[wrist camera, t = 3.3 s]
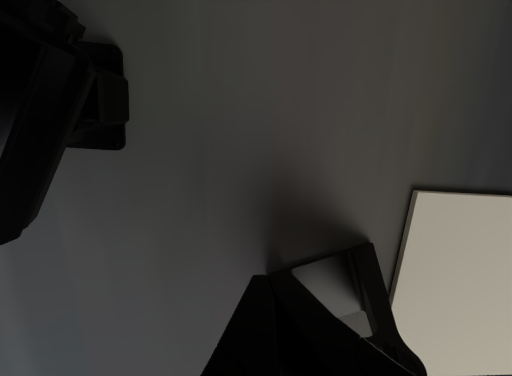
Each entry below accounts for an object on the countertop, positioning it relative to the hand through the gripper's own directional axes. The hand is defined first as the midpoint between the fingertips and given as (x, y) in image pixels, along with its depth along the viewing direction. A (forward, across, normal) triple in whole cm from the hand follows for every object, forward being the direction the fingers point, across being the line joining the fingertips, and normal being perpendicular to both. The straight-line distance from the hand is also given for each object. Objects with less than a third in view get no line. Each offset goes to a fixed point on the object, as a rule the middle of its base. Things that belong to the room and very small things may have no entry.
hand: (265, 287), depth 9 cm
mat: (+13, -21, +10) cm, 27 cm away
